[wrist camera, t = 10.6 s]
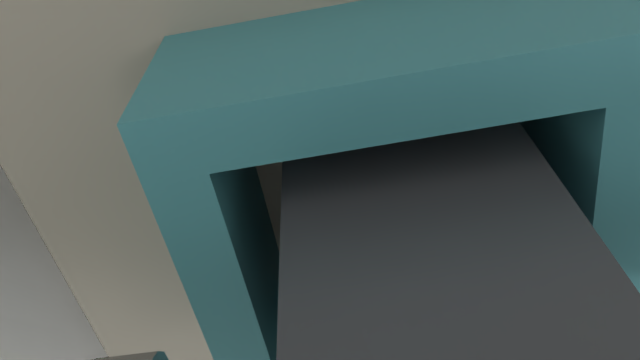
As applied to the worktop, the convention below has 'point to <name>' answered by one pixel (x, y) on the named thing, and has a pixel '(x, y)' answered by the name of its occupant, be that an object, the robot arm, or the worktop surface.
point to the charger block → (445, 257)
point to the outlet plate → (281, 134)
